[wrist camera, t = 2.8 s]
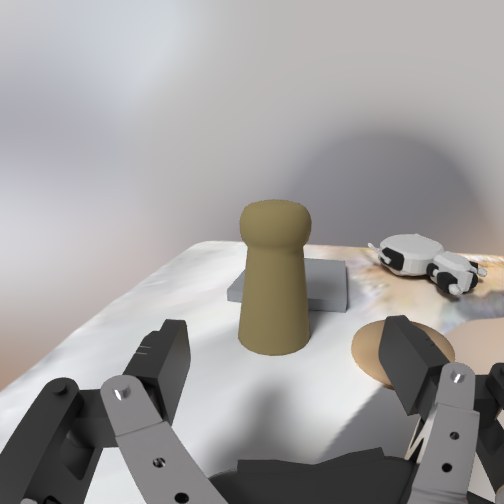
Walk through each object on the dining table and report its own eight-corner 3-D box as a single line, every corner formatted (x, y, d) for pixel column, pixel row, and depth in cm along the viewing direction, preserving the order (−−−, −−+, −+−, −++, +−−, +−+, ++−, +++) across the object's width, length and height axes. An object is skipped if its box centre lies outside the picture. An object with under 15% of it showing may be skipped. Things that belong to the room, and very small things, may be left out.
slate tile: (344, 269, 38) (345, 260, 37) (345, 312, 27) (346, 301, 26) (257, 262, 41) (257, 254, 41) (227, 300, 30) (226, 290, 30)
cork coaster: (437, 328, 23) (439, 321, 23) (464, 389, 15) (468, 381, 15) (350, 324, 25) (351, 316, 25) (349, 390, 17) (352, 382, 17)
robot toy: (484, 291, 30) (409, 255, 43) (493, 260, 29) (414, 228, 41) (450, 319, 25) (360, 268, 38) (463, 281, 23) (365, 237, 36)
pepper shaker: (270, 310, 28) (270, 194, 25) (323, 331, 24) (333, 201, 21) (222, 335, 24) (215, 202, 21) (279, 365, 20) (282, 210, 17)
